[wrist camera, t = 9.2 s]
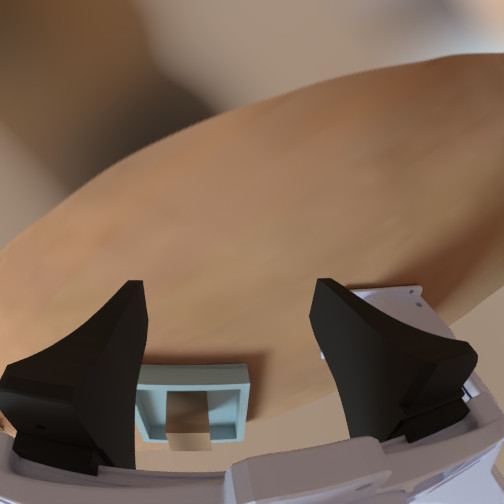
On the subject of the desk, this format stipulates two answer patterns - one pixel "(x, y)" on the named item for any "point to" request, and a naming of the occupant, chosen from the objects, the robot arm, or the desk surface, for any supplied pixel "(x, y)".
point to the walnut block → (187, 421)
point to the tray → (194, 379)
